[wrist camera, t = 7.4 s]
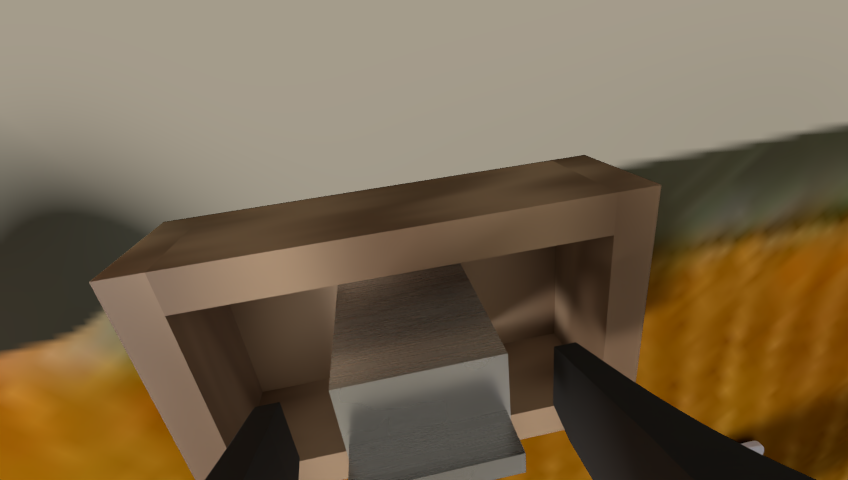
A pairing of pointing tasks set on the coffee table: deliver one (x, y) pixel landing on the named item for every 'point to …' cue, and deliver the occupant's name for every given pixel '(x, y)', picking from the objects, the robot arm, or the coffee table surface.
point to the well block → (367, 259)
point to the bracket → (421, 380)
